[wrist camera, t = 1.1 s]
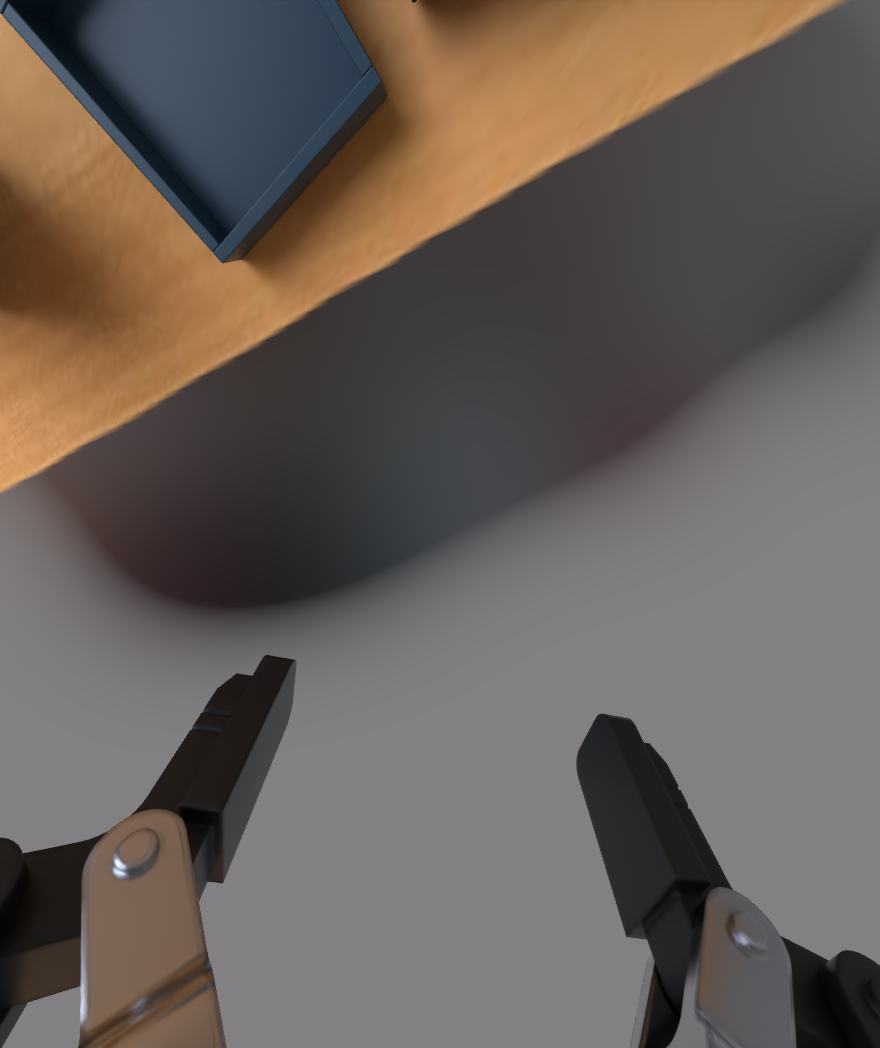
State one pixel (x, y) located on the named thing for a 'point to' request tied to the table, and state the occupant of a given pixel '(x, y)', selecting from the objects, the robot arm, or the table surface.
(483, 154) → the table surface
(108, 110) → the caddy
